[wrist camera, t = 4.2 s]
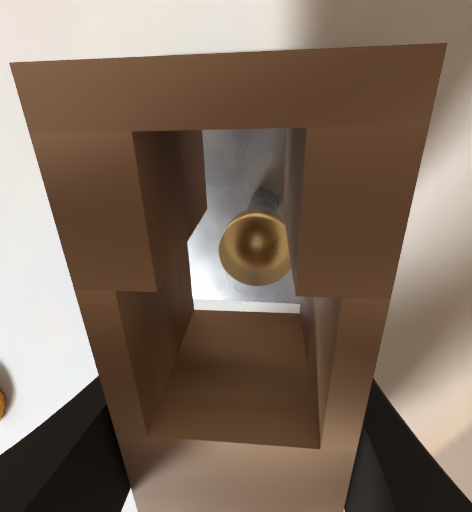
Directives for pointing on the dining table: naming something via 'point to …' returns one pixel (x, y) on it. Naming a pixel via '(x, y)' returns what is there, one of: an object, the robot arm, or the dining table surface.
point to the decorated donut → (1, 404)
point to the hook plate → (227, 201)
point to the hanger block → (178, 267)
